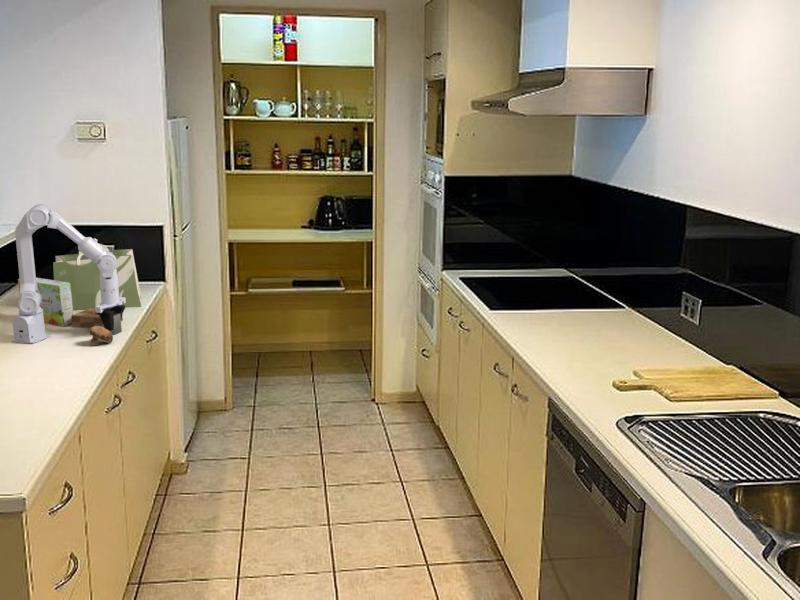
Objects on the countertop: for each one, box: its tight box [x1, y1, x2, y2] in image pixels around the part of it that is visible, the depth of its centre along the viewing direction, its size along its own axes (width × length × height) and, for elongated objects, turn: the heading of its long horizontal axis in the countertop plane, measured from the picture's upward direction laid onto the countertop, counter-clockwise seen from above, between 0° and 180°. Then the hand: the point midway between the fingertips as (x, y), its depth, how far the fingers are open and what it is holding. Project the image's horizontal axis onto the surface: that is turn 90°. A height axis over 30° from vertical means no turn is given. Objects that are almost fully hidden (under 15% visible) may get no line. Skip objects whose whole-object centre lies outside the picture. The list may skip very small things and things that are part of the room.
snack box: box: [17, 277, 74, 328], centre depth 291 cm, size 21×6×15 cm, turn 62°
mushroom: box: [88, 326, 114, 346], centre depth 266 cm, size 8×8×6 cm
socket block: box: [71, 307, 124, 329], centre depth 289 cm, size 12×12×4 cm
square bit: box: [104, 313, 123, 336], centre depth 278 cm, size 4×4×6 cm
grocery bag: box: [52, 243, 142, 311], centre depth 313 cm, size 32×14×23 cm, turn 105°
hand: (112, 328), depth 278 cm, fingers closed on square bit, 4 cm apart
